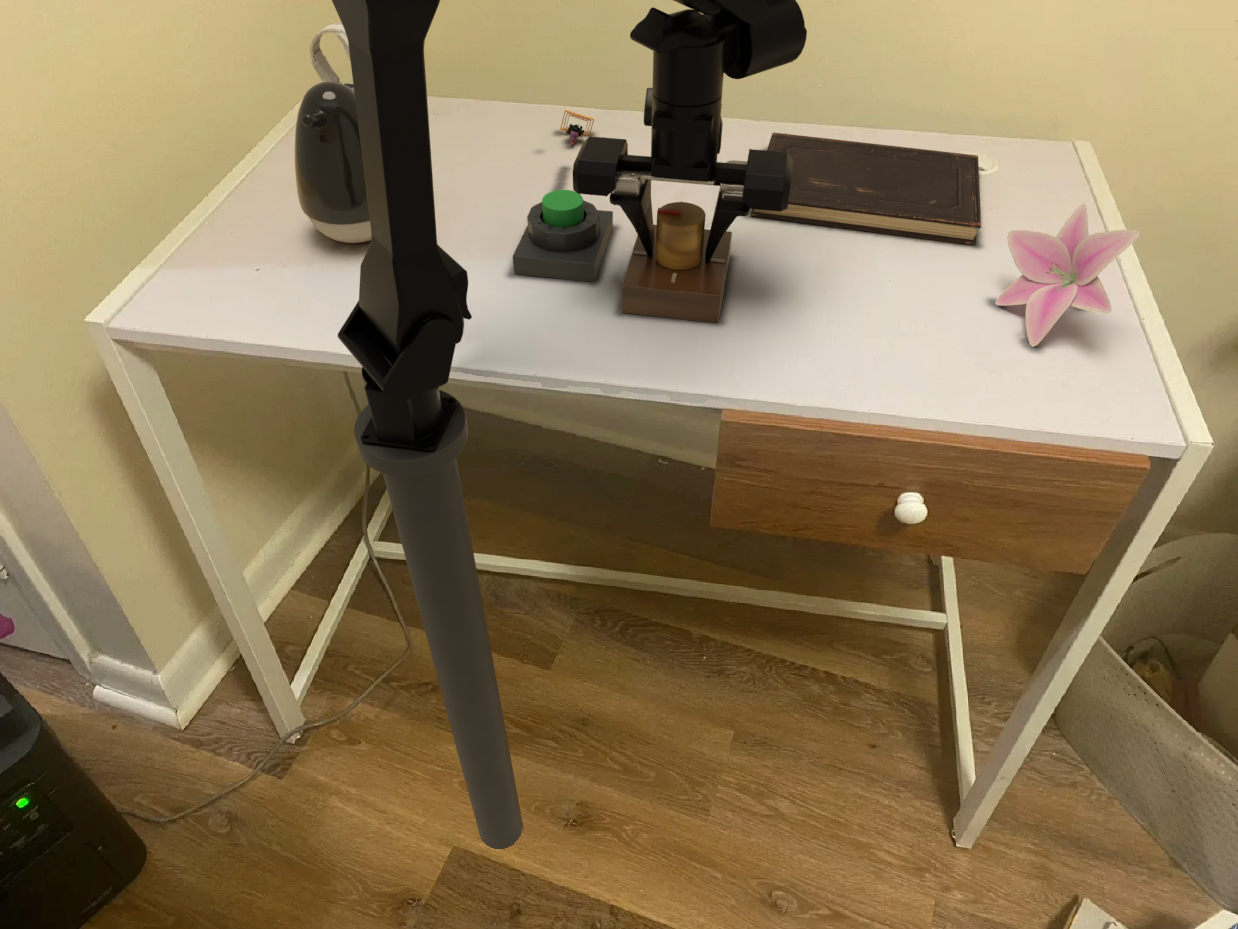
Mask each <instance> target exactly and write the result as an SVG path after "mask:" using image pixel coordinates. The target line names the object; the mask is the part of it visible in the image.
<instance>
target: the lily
mask: <svg viewBox="0 0 1238 929" xmlns="http://www.w3.org/2000/svg"><path fill="white" fill-rule="evenodd" d="M1139 235H1140V232H1139V231H1138V230H1136V229H1115V230H1108V231H1107V230H1106V231H1101V232H1095V233H1091V234H1089V218H1088V210H1087V206H1086V205H1085V204H1084V203H1083V204H1080V205H1079V206H1078V207H1077V208H1076V209H1075V210H1074V211H1073V212H1072V213H1071V215H1070V216H1069V217H1068V218H1067V220H1066V221H1065V222H1064V224H1063V225H1062V226H1061V228H1060V229H1059V231H1058V232H1057V234H1056V236H1054V235H1051V234H1048V233H1046V232H1041V231H1035V230H1025V229H1013V230H1011V231H1009V232H1008V233H1007V235H1006V241H1007V246H1008V249H1009V252H1010V255H1011V258H1012V260H1013V263H1014V264H1015V267H1016V268H1017V269H1018V271H1019V273H1020V274H1021V275H1020V276H1019V277H1018V278H1016V279H1015V280H1014V281H1012V282H1011V284H1009V285H1008V286H1007V287H1006V288H1005V289H1004V290H1003V292H1001V294H1000V295H999V296H998V297H997V299H996V300H995V303H994V304H995V305H996V306H1018V305H1020V306H1021V305H1026V306H1025V329H1026V335H1027V340H1028V343H1029V345H1030V346H1031V347H1032V348H1034V347H1036V346H1038V345H1039V344H1040V343H1041V342H1042V341H1043V339H1044V338H1045V337H1046V336H1047V335H1048V333H1049V332H1050V330H1051V329H1053V327H1054V325H1055V324H1056V323H1057V321H1058V320H1059V319H1060V318H1061V317H1062V315H1063V314H1064V313H1065V312H1066V310H1068V308H1069V307H1070V306H1071V307H1073V308H1076V309H1079V310H1083V311H1087V312H1094V313H1099V314H1110V313H1112V310H1113V309H1112V308H1113V307H1112V305H1111V301H1110V298H1109V296H1108V294H1107V291H1106V289H1105V287H1104V285H1103V283H1102V281H1101V279H1100V278H1099V275H1100V274H1101V273H1102V272H1103V271H1104V270H1105V269H1106V268H1107V267H1108V266H1109V265H1110V264H1111V263H1113V262H1114V261H1115V260H1116V259H1117V258H1118V257H1119V256H1120V255H1122V253H1124V252H1125V251H1126V250H1127V249H1128V248H1130V246H1131V245H1132V244H1133V243H1134V242H1135V241H1136V240H1137V239H1138V238H1139Z"/></svg>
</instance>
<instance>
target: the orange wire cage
mask: <svg viewBox="0 0 1238 929" xmlns="http://www.w3.org/2000/svg"><path fill="white" fill-rule="evenodd" d="M565 115H566V116H565ZM570 117H573V118H575V119H578V120H580V121H585V122H586V126H585V129H583V126H582V125H580V124H577V123H576V124H573V123H570V124H569V125H568V123H569V120H570ZM566 121H567V122H566ZM594 122H595V118H593V117H590V116H586V115H583V114H580V113H577V112H573V111H571V110H568V109H564V112H563V116H562V121H561V124H560V129H559V130H560V131H563V132H565V133H566V134H568V136H569V139H568V143H569V144H570V146H573V145H574V144H576V143H577V140H578V139H579V138H582V135H583V136H587V135H588V137H589V136H591V133H592V130H593V125H594ZM588 123H589V124H588ZM562 127H563V128H562ZM589 129H590V130H589ZM586 132H587V133H586Z"/></svg>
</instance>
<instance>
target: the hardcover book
mask: <svg viewBox="0 0 1238 929" xmlns="http://www.w3.org/2000/svg"><path fill="white" fill-rule="evenodd" d="M766 151H778V152H788V153H789V155H790V156H791V157H792V159H793V169H792V179H791V188H790V195H789V202H788V209H786V210H783V211H781V212H780V211H768V210H757V209H751V210H750V213H749V216H750V217H754V218H755V217H756V218H763V219H769V220H770V219H771V220H778V221H787V222H794V223H801V224H808V225H815V226H823V227H824V226H825V227H832V228H840V229H847V230H856V231H864V232H871V233H877V234H885V235H886V234H887V235H894V236H901V237H910V238H917V239H925V240H932V241H939V242H940V241H941V242H948V243H956V244H962V245H971V246H975V245H976V242H977V240H976V239H977V238H976V237H977V236H976V235H977V234H978V229H981V228H982V215H981V214H982V213H981V194H980V192H981V191H980V169H979V168H980V167H979V164H980V163H979V155H977V154H976V155H975V154H970V153H969V154H967V153H959V152H950V151H941V150H934V149H932V150H931V149H925V148H915V147H908V146H907V147H905V146H897V145H889V144H879V143H871V142H863V141H852V140H845V139H844V140H843V139H834V138H826V137H816V136H808V135H799V134H793V133H792V134H790V133H783V132H773V131H772V133H771V136H770V139H769V142H768V146H767V149H766Z"/></svg>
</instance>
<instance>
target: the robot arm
mask: <svg viewBox="0 0 1238 929" xmlns="http://www.w3.org/2000/svg"><path fill="white" fill-rule="evenodd" d="M672 1H673V2H676V3H678V4H680V5H683V7H684V6H685V7H687V9H682V10H679V11H676V12H671V13H667V12H665V11H663V10H661V9H658V8H656V7H655V6H653V7H651V8H650V9H649V10H648V12H647V14H646V15H645V17H644V18H643V19H641V20H640V21H639V22H638V23H637V24H636V25H635V26H634V27H633V29H632V30H631V31H630V33H629V37H630V39H631V40H632V41H633V42H635V43H637V44H639V45H641V46H643V47H645V48H646V49H649V50H651V51H653V52H652V55H653V56H652V87H647V88H646V92H645V99H644V100H645V101H644V106H643V107H644V109H643V125H644V126H645V127H651V132H650V133H651V134H650V135H651V136H650V137H651V139H650V155H649V156H647V155H636V154H629V144H628V140H627V138H626V139H625V138H615V137H604V136H603V137H601V136H591V135H590V136H589V135H588V137H587V138H586V139H585V140H584V141H583V142H582V144H581V147H580V149H579V151H578V152H577V155H576V157H575V160H574V162H573V165H572V167H573V168H572V191H575V192H577V193H578V194H580V195H588V196H598V197H599V196H600V197H608V196H609V203H610V204H611V205H612V206H613V205H614V206H619V207H620V209H621V210H622V211H623V213H624V214H625V215H626V217H627V219H628V220H629V222H630V223H631V225H632V227H633V228H634V230H635V232H636V233H637V235H638V236H639V238H640V241H641V243H642V245H643V247H644V249H645V251H646V253H647V255H648V256H651V257H652V255H653V251H654V226H653V225H654V216H653V214H654V213H653V202H652V181H656V182H657V181H658V182H668V183H679V184H680V183H681V184H692V185H702V186H703V185H704V186H715V187H719V190H718V194H717V199H716V202H715V207H714V212H713V216H712V220H711V225H710V229H709V230H710V233H709V237H708V242H707V247H706V252H705V262H710V260H711V258H712V256H713V254H714V252H715V250H716V248H717V246H718V244H719V242H720V240H721V238H722V237H723V235H724V233H725V232H726V231H728V229H729V228H730V227H731V225H732V224H733V223H734V222H735V220H736V219H737V218H738V217H747V216H750V214H751V210H752V209H757V210H768V211H780V212H781V211H783V210H786V209H788V202H789V195H790V188H791V179H792V169H793V159H792V157H791V156H790V155H789V153H788V152H778V151H767V149H766V150H764V149H752V148H749V149H748V155H747V161H746V160H728V161H726V162H720V161H718V155H720V153H721V148H722V139H723V138H722V136H723V127H724V126H723V125H724V124H723V118H722V106H723V104H722V100H723V99H722V98H723V89H724V88H723V87H724V75H726V76H727V77H728V78H731V79H733V80H742V79H745V78H748V77H751V76H754V75H757V74H760V73H763V72H766V71H769V70H772V69H775V68H779V67H782V66H785V65H788V64H790V63H793V62H795V61H796V60H797V59H799V57H800V56H801V54H802V53H803V50H804V48H805V45H806V43H807V42H806V41H807V38H808V37H807V36H808V30H807V28H806V24H805V19H804V18H805V17H804V15H803V11H802V9H801V7H800V4H799V3H798V1H797V0H672ZM331 2H332V4H333V6H334V9H335V11H336V13H337V16H338V17H339V21H340V23H342V24H343V27H344V29H345V32H346V35H347V39H348V44H349V52H350V60H349V61H350V68H351V76H352V84H353V85H354V94H355V102H356V110H357V118H358V127H359V135H360V143H361V151H362V160H363V168H364V176H365V184H366V193H367V201H368V209H369V217H370V226H371V240H370V243H369V245H368V248H367V250H366V251H365V254H364V256H363V258H362V261H361V263H360V267H359V268H360V271H359V288H358V289H359V291H358V301H357V303H356V304H355V306H354V307H353V308H352V310H351V312H350V314H348V316H347V318H346V320H345V322H344V323H343V325H342V326H341V328H340V329H339V331H338V333H337V338H338V340H339V341H340V342H341V343H342V345H344V346H345V348H346V349H347V350H348V352H350V354H351V355H352V356H353V357H354V358H355V359H356V361H357V362H358V363H359V364H360V366H361V376H362V380H363V385H364V388H363V389H364V393H365V396H366V400H367V405H368V404H369V408H370V412H371V415H372V417H371V419H370V421H369V422H368V424H367V426H366V428H365V430H364V431H363V433H362V435H361V442H362V443H363V444H365V445H373V446H380V447H388V448H396V449H404V450H411V451H419V452H427V453H432V452H434V451H436V449H437V447H438V445H439V443H440V441H441V439H442V437H443V434H444V432H445V430H446V428H447V426H448V423H449V421H450V419H451V417H452V415H453V413H454V410H455V408H456V406H457V401H456V399H457V398H456V397H454V398H450V397H442V396H440V394H439V390H440V389H439V388H440V387H442V386H444V385H446V384H448V382H449V379H450V373H451V369H452V365H453V359H454V355H455V351H456V345H457V344H459V343H461V341H462V339H463V336H464V331H465V320H471V319H472V317H473V316H472V314H471V312H470V310H469V306H468V302H467V300H468V299H467V298H468V290H469V277H468V272H467V270H466V269H465V268H464V267H463V266H462V265H460V263H458V262H457V261H456V260H455V259H454V258H453V257H452V256H451V255H450V254H448V252H447V251H446V250H444V249H443V248H442V247H441V246H440V245H438V244H439V243H438V237H437V236H438V235H437V222H436V207H435V206H436V205H435V191H434V179H433V178H434V177H433V162H432V149H431V135H430V120H429V106H428V105H429V104H428V90H427V75H426V74H427V73H426V60H425V42H426V37H427V35H428V33H429V31H430V28H431V26H432V23H433V21H434V18H435V15H436V13H437V11H438V8H439V5H440V2H441V0H331ZM455 398H456V399H455ZM367 438H368V439H367ZM430 446H432V447H430Z"/></svg>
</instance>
